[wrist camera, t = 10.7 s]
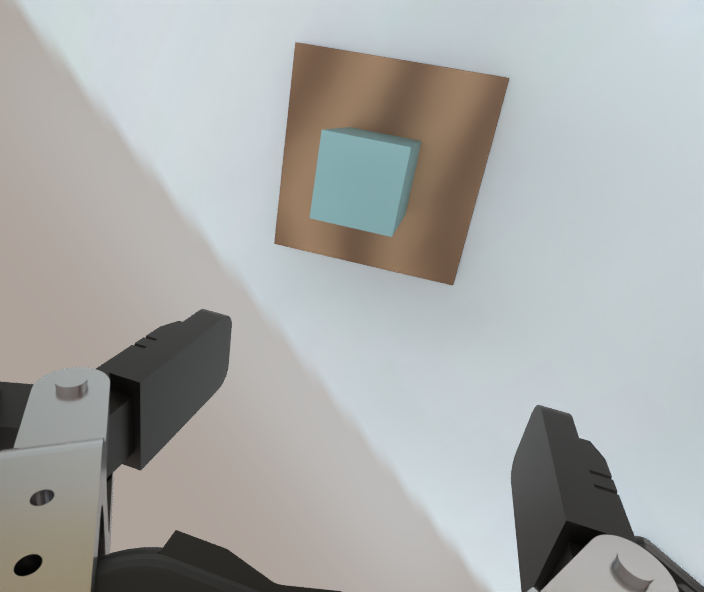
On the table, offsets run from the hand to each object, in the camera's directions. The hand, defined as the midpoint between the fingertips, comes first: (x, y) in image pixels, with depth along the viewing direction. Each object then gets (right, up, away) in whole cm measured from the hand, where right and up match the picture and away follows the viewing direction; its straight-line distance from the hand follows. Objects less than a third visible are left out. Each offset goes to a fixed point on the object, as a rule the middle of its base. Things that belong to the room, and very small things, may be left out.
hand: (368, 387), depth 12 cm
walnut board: (+2, +11, +21) cm, 24 cm away
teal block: (+1, +11, +20) cm, 23 cm away
